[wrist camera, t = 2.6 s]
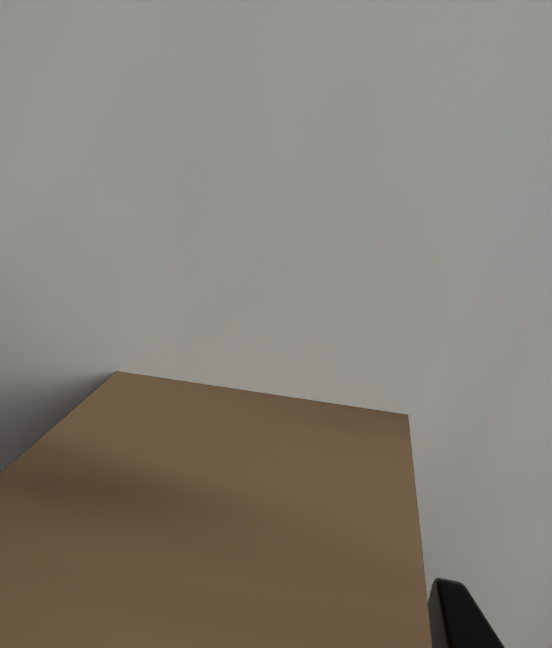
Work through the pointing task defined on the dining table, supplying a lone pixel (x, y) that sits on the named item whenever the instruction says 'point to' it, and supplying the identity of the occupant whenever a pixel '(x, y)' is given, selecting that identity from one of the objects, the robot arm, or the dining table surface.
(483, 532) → the dining table surface
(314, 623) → the walnut block
